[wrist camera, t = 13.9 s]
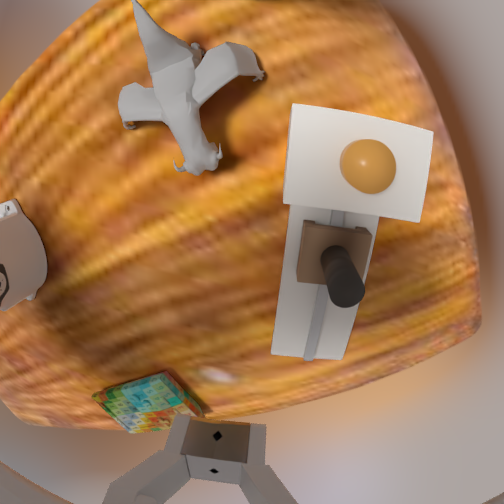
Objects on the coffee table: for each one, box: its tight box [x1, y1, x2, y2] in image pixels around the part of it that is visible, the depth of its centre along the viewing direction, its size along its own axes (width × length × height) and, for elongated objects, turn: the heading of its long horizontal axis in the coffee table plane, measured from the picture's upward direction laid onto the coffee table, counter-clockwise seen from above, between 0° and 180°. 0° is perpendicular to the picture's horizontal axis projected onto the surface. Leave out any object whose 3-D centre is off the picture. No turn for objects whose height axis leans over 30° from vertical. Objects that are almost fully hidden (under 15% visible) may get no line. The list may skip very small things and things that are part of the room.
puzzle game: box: [92, 371, 205, 433], centre depth 47 cm, size 12×5×20 cm
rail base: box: [271, 104, 433, 361], centre depth 30 cm, size 13×30×10 cm, turn 175°
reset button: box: [339, 139, 396, 194], centre depth 20 cm, size 4×4×2 cm
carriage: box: [296, 220, 373, 308], centre depth 28 cm, size 7×6×10 cm
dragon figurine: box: [118, 0, 265, 175], centre depth 26 cm, size 15×15×9 cm
